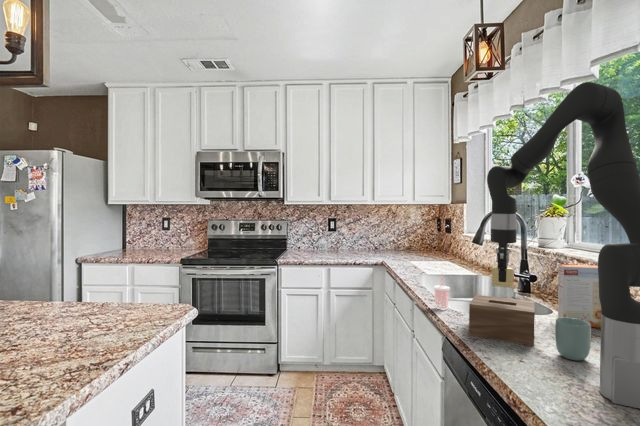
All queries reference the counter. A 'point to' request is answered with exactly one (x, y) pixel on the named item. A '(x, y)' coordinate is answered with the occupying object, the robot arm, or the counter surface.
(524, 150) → the robot arm
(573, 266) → the cracker box
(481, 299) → the coin box
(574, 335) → the cup
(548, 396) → the counter surface
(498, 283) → the block
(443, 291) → the beverage cup
